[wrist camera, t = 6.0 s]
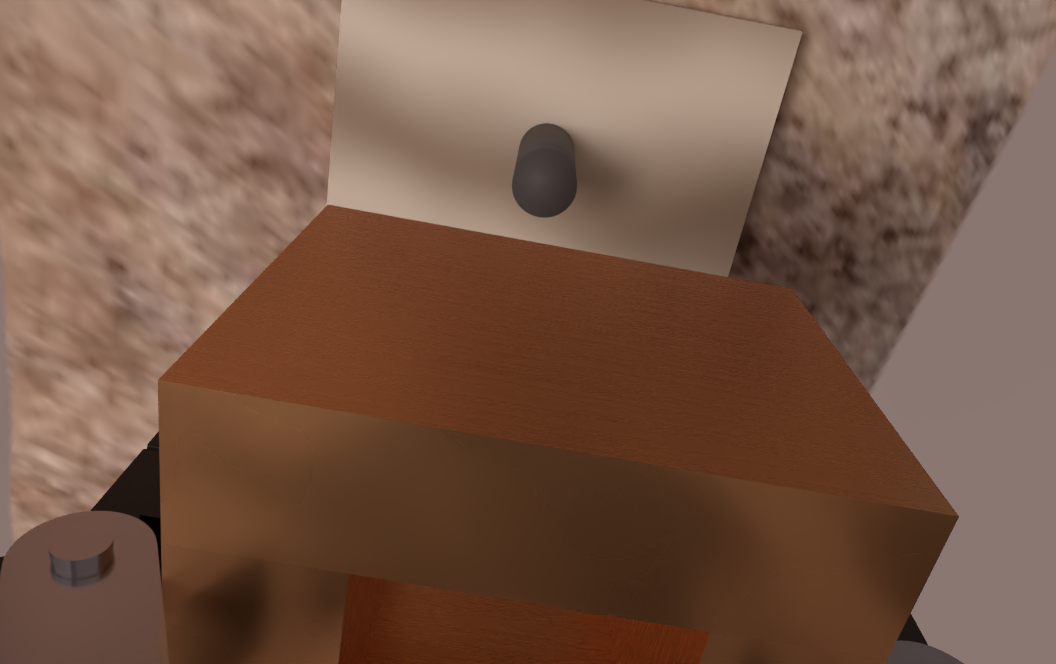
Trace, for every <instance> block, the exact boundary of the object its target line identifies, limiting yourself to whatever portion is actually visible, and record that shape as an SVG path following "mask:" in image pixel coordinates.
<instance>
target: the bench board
mask: <svg viewBox="0 0 1056 664" xmlns="http://www.w3.org/2000/svg"><path fill="white" fill-rule="evenodd" d="M802 33H803V31H799V30H795V29H792V28H787V27H782V26H777V25H772V24H767V23H762V22H757V21H752V20H747V19H741V18H736V17H731V16H726V15H721V14H716V13H711V12H706V11H701V10H696V9H690V8H685V7H680V6H675V5H670V4H665V3H660V2H655V1H650V0H342V4H341V18H340V31H339V45H338V59H337V72H336V86H335V100H334V114H333V127H332V141H331V155H330V168H329V182H328V196H327V205H334V206H339V207H345V208H350V209H356V210H361V211H367V212H372V213H378V214H383V215H389V216H394V217H400V218H405V219H411V220H416V221H422V222H427V223H433V224H438V225H444V226H449V227H455V228H460V229H466V230H471V231H477V232H482V233H488V234H493V235H499V236H504V237H510V238H515V239H521V240H526V241H532V242H537V243H543V244H548V245H554V246H559V247H565V248H570V249H576V250H581V251H587V252H592V253H598V254H603V255H609V256H614V257H620V258H625V259H631V260H636V261H642V262H647V263H653V264H658V265H664V266H669V267H675V268H680V269H686V270H692V271H697V272H703V273H708V274H714V275H719V276H725V277H728V275H729V272H730V268H731V265H732V262H733V259H734V255H735V252H736V249H737V245H738V242H739V239H740V236H741V232H742V229H743V226H744V223H745V219H746V216H747V213H748V209H749V206H750V203H751V200H752V196H753V193H754V190H755V186H756V183H757V180H758V177H759V173H760V170H761V167H762V164H763V160H764V157H765V154H766V150H767V147H768V144H769V141H770V137H771V134H772V131H773V128H774V124H775V121H776V118H777V114H778V111H779V108H780V105H781V101H782V98H783V95H784V91H785V88H786V85H787V82H788V78H789V75H790V72H791V69H792V65H793V62H794V59H795V55H796V52H797V49H798V46H799V42H800V39H801V36H802Z"/></svg>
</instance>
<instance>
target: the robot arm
mask: <svg viewBox="0 0 1056 664" xmlns="http://www.w3.org/2000/svg"><path fill="white" fill-rule="evenodd" d="M0 664H169V657H168V647H167V637H166V627H165V617H164V607H163V597H162V564H161V512H160V460H159V432H158V433H157V434H156V435H155V436H154V437H153V439H152V440H151V441H150V442H149V443H148V446H147V449H143V450H142V451H141V453H140V454H139V455H138V456H137V457H136V458H135V460H134V461H133V462H132V463H131V464H130V465H129V467H128V468H127V469H126V470H125V471H124V472H123V474H122V475H121V476H120V477H119V478H118V479H117V481H116V482H115V483H114V484H113V485H112V486H111V488H110V489H109V490H108V491H107V492H106V493H105V494H104V496H103V497H102V498H101V499H100V500H99V501H98V503H97V504H96V505H95V506H94V507H93V508H92V510H91V511H86V512H79V513H73V514H68V515H65V516H61V517H57V518H55V519H52V520H49V521H47V522H44V523H42V524H40V525H38V526H36V527H34V528H33V529H31V530H30V531H28V532H27V533H25V534H24V535H22V536H21V537H20V538H19V539H18V540H17V541H15V543H14V544H13V545H12V546H11V547H10V548H9V550H8V551H7V553H6V555H5V556H4V557H0ZM885 664H964V663H962V662H961V661H959V660H957V659H956V658H954V657H952V656H950V655H949V654H947V653H945V652H943V651H941V650H938V649H936V648H934V647H931V646H928V644H927V642H926V641H925V639H924V637H923V635H922V633H921V631H920V630H919V628H918V626H917V624H916V622H915V621H914V619H913V617H912V615H911V613H910V615H909V617H908V619H907V621H906V623H905V625H904V627H903V629H902V631H901V633H900V635H899V637H898V639H897V641H896V643H895V645H894V647H893V649H892V651H891V653H890V655H889V657H888V659H887V661H886V663H885Z"/></svg>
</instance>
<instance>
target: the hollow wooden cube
mask: <svg viewBox="0 0 1056 664" xmlns="http://www.w3.org/2000/svg"><path fill="white" fill-rule="evenodd" d="M158 407H159V460H160V512H161V564H162V597H163V607H164V617H165V627H166V637H167V647H168V657H169V664H885V663H886V661H887V659H888V657H889V655H890V653H891V651H892V649H893V647H894V645H895V643H896V641H897V639H898V637H899V635H900V633H901V631H902V629H903V627H904V625H905V623H906V621H907V619H908V617H909V615H910V613H911V611H912V609H913V607H914V605H915V603H916V601H917V599H918V597H919V595H920V593H921V591H922V589H923V587H924V585H925V583H926V581H927V579H928V577H929V575H930V573H931V571H932V569H933V567H934V565H935V563H936V561H937V559H938V557H939V555H940V553H941V551H942V549H943V547H944V545H945V543H946V541H947V539H948V537H949V535H950V533H951V531H952V530H953V527H954V526H955V523H956V521H957V520H958V518H959V516H958V515H957V513H956V512H955V511H954V509H953V508H952V507H951V505H950V504H949V502H948V501H947V500H946V498H945V497H944V496H943V494H942V493H941V492H940V490H939V489H938V487H937V486H936V485H935V483H934V482H933V481H932V479H931V478H930V477H929V475H928V474H927V473H926V471H925V470H924V468H923V467H922V466H921V464H920V463H919V461H918V460H917V459H916V458H915V456H914V455H913V453H912V452H911V451H910V449H909V448H908V447H907V445H906V444H905V442H904V441H903V440H902V438H901V437H900V436H899V434H898V433H897V432H896V430H895V429H894V427H893V426H892V425H891V423H890V422H889V421H888V419H887V418H886V416H885V415H884V414H883V412H882V411H881V410H880V408H879V407H878V406H877V404H876V403H875V401H874V400H873V399H872V397H871V396H870V395H869V393H868V392H867V391H866V389H865V388H864V386H863V385H862V384H861V382H860V381H859V380H858V378H857V377H856V376H855V374H854V373H853V371H852V370H851V369H850V367H849V366H848V365H847V363H846V362H845V361H844V359H843V358H842V356H841V355H840V354H839V352H838V351H837V350H836V348H835V347H834V346H833V344H832V343H831V341H830V340H829V339H828V337H827V336H826V335H825V333H824V332H823V331H822V329H821V328H820V326H819V325H818V324H817V322H816V321H815V320H814V318H813V317H812V316H811V314H810V313H809V311H808V310H807V309H806V307H805V306H804V305H803V303H802V302H801V301H800V299H799V298H798V296H797V295H796V294H795V292H794V291H793V290H792V289H791V288H785V287H780V286H774V285H769V284H763V283H758V282H752V281H747V280H741V279H736V278H730V277H725V276H719V275H714V274H708V273H703V272H697V271H692V270H686V269H680V268H675V267H669V266H664V265H658V264H653V263H647V262H642V261H636V260H631V259H625V258H620V257H614V256H609V255H603V254H598V253H592V252H587V251H581V250H576V249H570V248H565V247H559V246H554V245H548V244H543V243H537V242H532V241H526V240H521V239H515V238H510V237H504V236H499V235H493V234H488V233H482V232H477V231H471V230H466V229H460V228H455V227H449V226H444V225H438V224H433V223H427V222H422V221H416V220H411V219H405V218H400V217H394V216H389V215H383V214H378V213H372V212H367V211H361V210H356V209H350V208H345V207H339V206H334V205H327V206H326V207H325V208H324V209H323V210H322V211H321V213H320V214H319V215H318V216H317V217H316V218H315V219H314V220H313V221H312V222H311V223H310V224H309V225H308V226H307V227H306V228H305V229H304V230H303V231H302V232H301V233H300V234H299V235H298V236H297V237H296V238H295V239H294V240H293V241H292V242H291V243H290V244H289V246H288V247H287V248H286V249H285V250H284V251H283V252H282V253H281V254H280V255H279V256H278V257H277V258H276V259H275V260H274V261H273V262H272V263H271V264H270V265H269V266H268V267H267V268H266V269H265V270H264V271H263V272H262V273H261V274H260V275H259V276H258V278H257V279H256V280H255V281H254V282H253V283H252V284H251V285H250V286H249V287H248V288H247V289H246V290H245V291H244V292H243V293H242V294H241V295H240V296H239V297H238V298H237V299H236V300H235V301H234V302H233V303H232V304H231V305H230V306H229V307H228V308H227V309H226V311H225V312H224V313H223V314H222V315H221V316H220V317H219V318H218V319H217V320H216V321H215V322H214V323H213V324H212V325H211V326H210V327H209V328H208V329H207V330H206V331H205V332H204V333H203V334H202V335H201V336H200V337H199V338H198V339H197V340H196V341H195V343H194V344H193V345H192V346H191V347H190V348H189V349H188V350H187V351H186V352H185V353H184V354H183V355H182V356H181V357H180V358H179V359H178V360H177V361H176V362H175V363H174V364H173V365H172V366H171V367H170V368H169V369H168V370H167V371H166V372H165V373H164V375H163V376H162V377H161V378H160V379H159V380H158Z"/></svg>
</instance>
